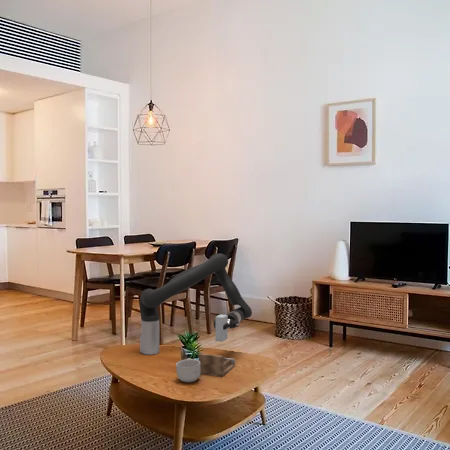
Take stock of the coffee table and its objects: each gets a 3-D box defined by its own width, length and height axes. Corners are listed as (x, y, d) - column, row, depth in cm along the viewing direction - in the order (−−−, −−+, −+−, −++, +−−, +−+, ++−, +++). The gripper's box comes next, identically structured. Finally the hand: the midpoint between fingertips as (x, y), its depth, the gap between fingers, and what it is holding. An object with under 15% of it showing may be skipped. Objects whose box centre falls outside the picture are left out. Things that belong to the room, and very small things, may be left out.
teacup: (197, 385, 211) (197, 367, 211) (173, 383, 213) (173, 365, 212) (204, 374, 225) (204, 357, 224) (181, 373, 227) (181, 355, 226)
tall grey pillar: (215, 340, 242) (215, 316, 241) (220, 337, 247) (220, 314, 247) (222, 341, 240) (223, 317, 240) (227, 338, 246) (227, 315, 245)
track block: (198, 373, 226) (198, 354, 225) (212, 363, 241) (212, 345, 240) (222, 376, 221) (222, 357, 221) (235, 366, 236) (235, 347, 236)
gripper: (219, 311, 259) (206, 318, 243) (244, 313, 254) (233, 321, 238) (219, 325, 259) (206, 333, 244) (244, 328, 254) (232, 336, 238)
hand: (219, 327), depth 241 cm, fingers closed on tall grey pillar, 4 cm apart
